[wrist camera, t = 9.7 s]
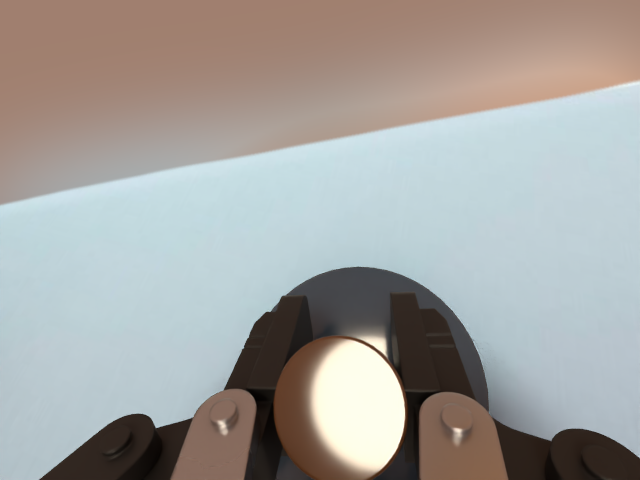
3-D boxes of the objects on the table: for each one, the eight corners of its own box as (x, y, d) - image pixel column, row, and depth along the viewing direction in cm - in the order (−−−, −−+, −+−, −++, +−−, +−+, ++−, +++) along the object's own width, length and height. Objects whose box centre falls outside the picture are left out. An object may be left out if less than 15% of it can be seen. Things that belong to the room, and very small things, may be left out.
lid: (534, 367, 12) (739, 375, 5) (385, 601, 11) (398, 1049, 4) (341, 231, 15) (312, 125, 9) (205, 394, 14) (32, 428, 7)
